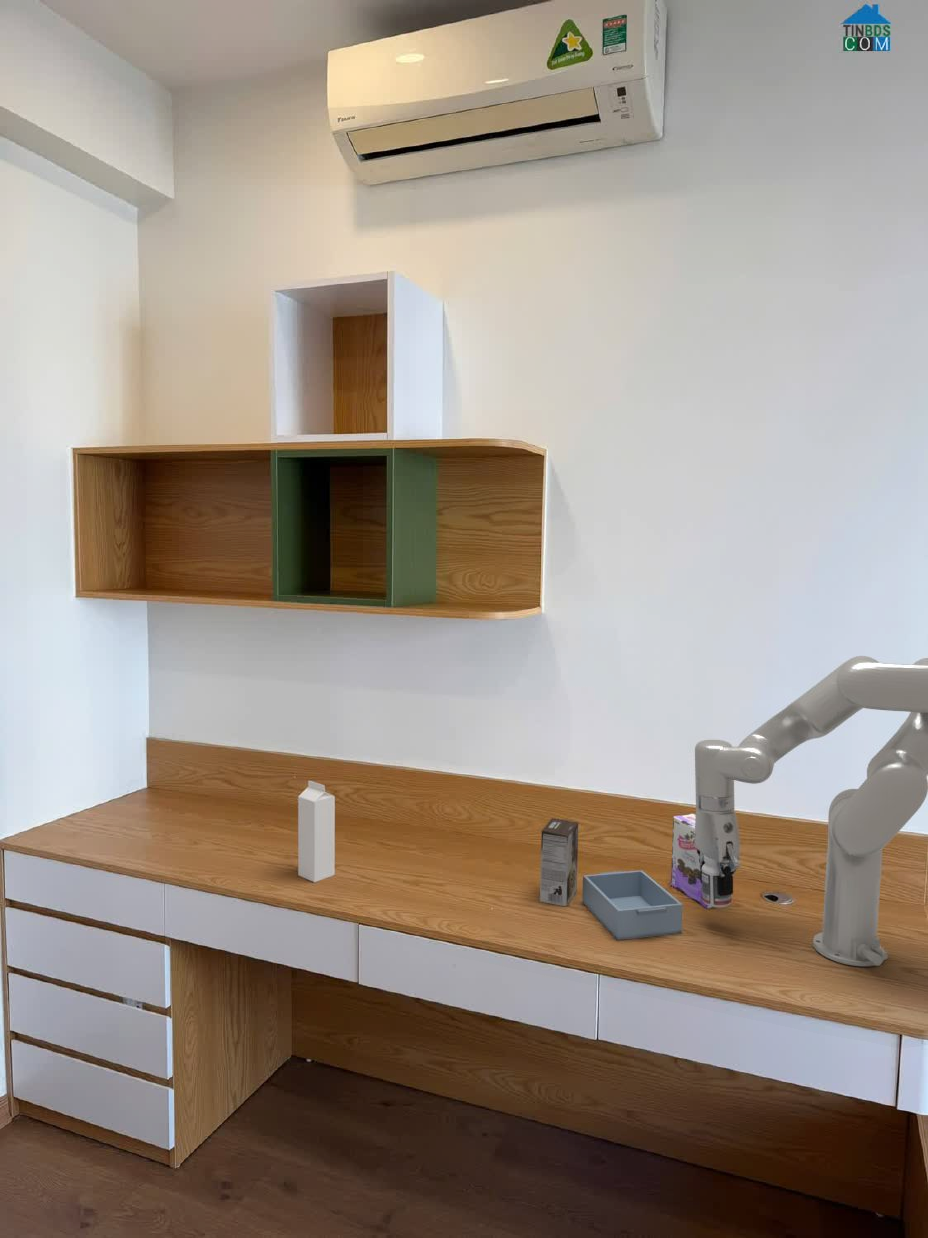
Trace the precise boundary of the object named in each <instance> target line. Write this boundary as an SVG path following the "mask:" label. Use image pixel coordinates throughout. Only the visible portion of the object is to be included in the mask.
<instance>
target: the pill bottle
mask: <svg viewBox="0 0 928 1238" xmlns="http://www.w3.org/2000/svg"><path fill="white" fill-rule="evenodd" d="M723 860H727V857H723ZM704 861H705V864H704V865H703V866H702V900H703V902H704V903H705V904H706V905H708V906H711V907H716V908H718V909H719V908H720V909H721V908H726V907H729V906H731V904H732V894H731V895H724V896H719V895H718V891H717V876H720V875H719V871H718V866H717V861H715V860H713V859H712V858H710V857H709V856H707V855H705V854H704ZM726 866H728V865H727V864H726V863H723V869H724V868H725V867H726Z"/></svg>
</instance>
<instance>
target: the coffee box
mask: <svg viewBox="0 0 928 1238" xmlns="http://www.w3.org/2000/svg"><path fill="white" fill-rule="evenodd" d="M540 843H541V845H540V847H541V848H540V881H539V884H540V886H539V902H540V903H545V904H551V905H555V906H556V905H558V906H561V907H568V905H569V904H570V902H571V901H572V899H573V897H574V895H575V894H576V893H577V892H578V855H579V851H578V850H579V846H578V845H579V822H578V821H573V820H572V821H570V820H567V819H562V818H555V817H554V818H553V817H552V818H551V819H550V820H549V821H548V822H547V824H545V826H543V829H541V842H540Z"/></svg>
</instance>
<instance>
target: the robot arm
mask: <svg viewBox="0 0 928 1238" xmlns="http://www.w3.org/2000/svg"><path fill="white" fill-rule="evenodd" d="M862 709H868V710H876V711H877V710H878V711H887V712H889V711H890V712H892V711H893V712H908V713H909V714H908V717H907V718H906V719H905V721H903V723H902V724H901V726H900V727H899V728H898V730H897V731H896V732H895V733H894V734H893V735H892V736H891V737H890V739H889V740H888V741H887V742H886V743H885V744H884V746H882V748H881V749H880V750H879V751H878V752H877V753H876V754H875V755H874V756H873V757H872V758H871V759H870V761H869V763H868V764H867V768H866V779H865V780H864V781H863V782H862V784H861V785H859V787H858V788H851V789H845V790H843V791H841V792H839V793H838V794H837V795H835V797H834V798H833V799H832V801H831V803H830V805H829V807H828V808H829V809H828V819H827V821H828V826H827V828H828V829H827V851H826V865H825V881H824V882H825V883H824V900H823V915H822V916H823V917H822V932H819V933H817V934H815V935H814V936H813V939H812V940H813V944H812V945H813V947H814V949H815V950H816V951H817V952H818V953H819V954H820V955H822V956H824V958H825V957H826V958H827V959H830V960H832V961H834V962H836V963H839V964H843V965H847V966H848V965H849V966H854V967H864V968H865V967H874V966H877V967H878V966H881V964H883V962H884V961H885V960H887V959H888V958H889V954H888V953H887V952H886V951H885V950H884V948H883V946H881V938H880V937H878V924H879V923H878V921H879V908H880V894H881V893H880V891H881V877H882V869H883V868H882V866H883V865H882V863H883V849H884V848H885V847H886V846H887V844H889V843H890V842H891V840H892V839H893V838H894V837H896V835H898V833H899V832H900V831H901V830H902V829H903V828H904V827H905V825H906V824H907V823H908V822H909V821H910V820H911V819H912V817H913V816H914V815H915V814H916V813H917V812H918V811H919V810H920V808H921V807H922V806H923V803H924V802H925V800H926V798H927V795H928V778H927V777H928V657H925V658H920V659H919V660H917V661H915V662H914V663H912V664H910V663H909V664H908V663H905V664H904V663H902V664H901V663H886V662H885V663H884V662H879V661H878V660H877V659H875V658H873V657H870V656H866V655H858V656H854V657H851V658H850V659H848V660H846V661H845V662H843V663H842V664H841V665H839V666H838V667H837V668H835V669H834V670H833V671H832V672H830V673H829V674H828V675H826V676H825V677H824V678H823V679H821V680H820V681H818V682H817V683H816V684H815V685H813V686H812V687H811V688H810V689H809V690H807V691H806V692H804V693H803V694H801V695H800V696H799V697H798V698H797V699H795V700H794V701H792V702H791V703H790V704H788V705H787V706H786V707H785V708H784V709H782V710H781V711H779V712H778V713H776V714H775V715H773V716H771V717H770V718H769V719H768V720H767V721H766V722H765V721H764V723H763V724H761V725H760V726H759V727H757V728H756V729H755V730H753V731H752V732H751V733H749V734H748V735H747V736H746V737H745V738H744V739H743V740H741V742H740V743H739V744H738V746H733V745H732V744H731V743H730V742H729V741H725V740H720V739H704V740H700V741H698V742H697V743H696V744H695V747H694V768H695V769H694V771H695V772H694V775H695V780H694V781H695V784H694V785H695V810H696V811H695V815H696V818H695V840H694V843H695V846H696V848H697V853H698V855H699V863H700V864H702V865H700V882H701V883H702V866H703V865H704V864H705V861H704V854H705V855H707V856H709V857H710V858H712V859H713V860H715V861H717V866H718V871H719V875H720V876H717V891H718V895H719V896H724V895H731V896H732V895H734V877H735V873H736V871H737V869H739V868H740V862H739V860H740V859H741V845H740V833H739V831H740V830H739V824H738V818H737V814H736V811H735V781H736V782H741V783H745V784H751V785H757V784H761V783H764V782H766V781H767V780H768V779H769V778H770V777H771V775H772V773H773V770H774V766H775V764H776V763H777V762H779V760H781V759H782V758H784V756H786V755H788V754H789V753H790V752H791V751H793V750H794V749H796V748H797V747H799V746H800V745H802V744H804V743H805V742H808V741H810V740H813V739H820V738H823V737H824V736H825V737H826V736H827V735H828V734H830V733H832V732H833V731H834V730H835V729H837V728H838V727H839V726H841V725H842V724H843V723H844V722H846V721H847V720H848V719H850V718H851V717H852V716H853V715H855V714H856V713H858V712H860V711H861V710H862ZM723 857H727V860H723ZM723 863H727V865H728V866H726V867H725V868H724V869H723Z"/></svg>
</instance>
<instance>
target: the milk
mask: <svg viewBox="0 0 928 1238" xmlns="http://www.w3.org/2000/svg"><path fill="white" fill-rule="evenodd" d="M307 785H308V786H307V787H306V788H305V790H303V791H302V792H301V793H300V794H299V795H298V797H297V803H298V804H297V805H298V807H297V811H298V814H297V816H298V819H297V821H298V823H297V825H298V827H297V830H298V833H297V835H298V837H297V838H298V843H297V844H298V845H297V847H298V849H297V851H298V852H297V853H298V855H297V857H298V860H297V861H298V865H297V866H298V869H297V870H298V874H297V875H298V876H300V877H301V878H303V879H306V880H308V881H310V882H313V883H316V882H320V881H322V880H325V879H329V878H330V877H333V876H335V865H336V864H335V862H336V861H335V859H336V858H335V856H336V855H335V854H336V852H335V847H336V846H335V845H336V843H335V837H336V836H335V832H336V831H335V830H336V829H335V828H336V827H335V824H336V823H335V821H336V820H335V819H336V818H335V813H336V812H335V811H336V809H335V808H336V806H335V805H336V804H335V802H336V798H335V795H334V794H332V793H329V792H326V785H324V784H322V783H318V782H315V781H312V780H308V782H307Z"/></svg>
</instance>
